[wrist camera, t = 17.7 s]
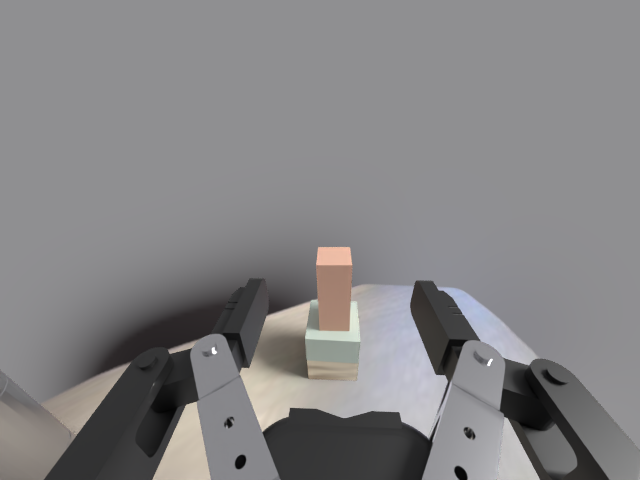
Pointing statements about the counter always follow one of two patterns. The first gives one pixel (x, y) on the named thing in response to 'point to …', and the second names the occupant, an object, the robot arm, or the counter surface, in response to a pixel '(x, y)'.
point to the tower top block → (332, 339)
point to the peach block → (334, 288)
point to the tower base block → (332, 370)
